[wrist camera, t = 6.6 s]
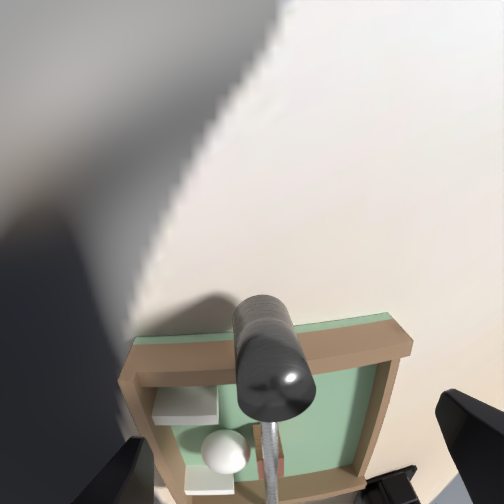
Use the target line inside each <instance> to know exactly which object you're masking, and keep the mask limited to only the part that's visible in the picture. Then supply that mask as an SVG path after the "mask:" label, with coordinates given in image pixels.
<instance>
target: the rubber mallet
mask: <svg viewBox="0 0 504 504" xmlns="http://www.w3.org/2000/svg"><path fill="white" fill-rule="evenodd" d="M233 337H234V354H235V371H236V387H237V402H238V405H239V408H240V409H241V411H242V412H243V413H244V414H245V415H247V416H248V417H250V418H252V419H254V420H257V421H260V424H256V425H253V434H254V444H255V453H256V461H257V469H258V478H259V480H262V479H264V482H265V496H266V504H278V478H279V477H284V454H283V449H282V444H281V439H280V434H279V429H278V422H282V421H286V420H289V419H292V418H294V417H296V416H298V415H300V414H301V413H303V412H304V411H305V410H306V409H308V407H309V406H310V405H311V404H312V402H313V401H314V399H315V396H316V385H315V382H314V379H313V376H312V374H311V371H310V369H309V366H308V363H307V361H306V358H305V355H304V353H303V350H302V347H301V345H300V342H299V339H298V337H297V334H296V332H295V329H294V326H293V324H292V321H291V318H290V316H289V313H288V311H287V308H286V307H285V305H284V304H283V303H282V302H281V301H280V300H279V299H277V298H275V297H272V296H269V295H256V296H252V297H250V298H247V299H246V300H244V301H243V302H241V303H240V304H239V306H238V307H237V308H236V310H235V312H234V315H233Z"/></svg>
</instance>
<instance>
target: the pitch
mask: <svg viewBox="0 0 504 504" xmlns="http://www.w3.org/2000/svg"><path fill="white" fill-rule="evenodd" d="M294 329H295V332H296V334H297V337H298V339H299V342H300V345H301V347H302V350H303V353H304V355H305V358H306V361H307V363H308V366H309V369H310V371H311V374H312V376H313V379H314V382H315V385H316V396H315V399H314V401H313V402H312V404H311V405H310V406H309V407H308V409H306V410H305V411H304V412H303V413H301V414H300V415H298V416H296V417H294V418H292V419H289V420H286V421H282V422H278V429H279V434H280V439H281V444H282V449H283V454H284V477H279V478H278V504H296V503H302V502H308V501H314V500H319V499H324V498H329V497H333V496H338V495H342V494H346V493H350V492H354V491H358V490H361V489H365V487H366V485H367V482H366V479H365V477H364V474H365V472H366V469H367V467H368V464H369V461H370V459H371V456H372V453H373V451H374V448H375V445H376V442H377V439H378V436H379V433H380V430H381V427H382V424H383V421H384V418H385V414H386V411H387V408H388V404H389V401H390V397H391V394H392V390H393V386H394V383H395V379H396V375H397V371H398V367H399V362H400V358H402V357H406V356H410V354H411V350H412V345H413V341H414V340H413V339H412V338H411V337H410V336H409V335H408V334H407V333H406V332H405V331H404V329H403V328H402V327H401V326H400V325H399V324H398V323H397V322H396V321H395V320H394V319H393V317H392V316H391V315H390V314H389V313H388V312H387V313H381V314H375V315H369V316H363V317H357V318H350V319H343V320H336V321H329V322H321V323H314V324H306V325H297V326H294ZM118 383H119V386H120V389H121V391H122V394H123V396H124V399H125V401H126V404H127V406H128V408H129V411H130V413H131V415H132V418H133V420H134V422H135V425H136V427H137V429H138V431H139V433H140V436H141V437H145V438H146V439H147V441H148V443H149V445H150V447H151V449H152V452H153V454H154V464H155V466H156V468H157V470H158V472H159V474H160V476H161V477H162V479H163V481H164V483H165V485H166V486H167V488H168V490H169V492H170V494H171V495H172V497H173V499H174V500H175V502H176V504H266V496H265V482H264V479H262V480H259V478H258V469H257V461H256V453H255V444H254V434H253V425H256V424H260V421H257V420H254V419H252V418H250V417H248V416H247V415H245V414H244V413H243V412H242V411H241V409H240V408H239V405H238V402H237V387H236V371H235V354H234V337H233V332H226V333H212V334H196V335H178V336H154V337H135V340H134V342H133V344H132V347H131V349H130V351H129V354H128V356H127V359H126V361H125V363H124V366H123V368H122V371H121V373H120V376H119V378H118ZM222 429H227V430H233V431H236V432H238V433H240V434H241V435H242V436H243V437H244V438H245V439H246V440H247V441H248V443H249V446H250V450H251V454H250V459H249V461H248V463H247V465H246V466H245V467H244V468H243V469H242V470H240V471H238V472H236V473H233V474H220V473H217V472H214V471H213V470H211V469H210V468H209V467H207V465H206V464H205V463H204V461H203V459H202V456H201V446H202V443H203V441H204V440H205V438H206V437H207V436H208V435H209V434H211V433H213V432H215V431H217V430H222Z"/></svg>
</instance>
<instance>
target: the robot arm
mask: <svg viewBox="0 0 504 504" xmlns="http://www.w3.org/2000/svg"><path fill="white" fill-rule="evenodd" d="M435 415H436V418H437V421H438V423H439V426H440V428H441V431H442V434H443V437H444V439H445V442H446V445H447V448H448V450H449V452H450V455H451V457H452V459H453V461H454V463H455V465H456V467H457V469H458V471H459V474H460V476H461V478H462V480H463V482H464V484H465V486H466V488H467V491H468V493H469V495H470V498H471V500H472V502H473V504H504V412H503V411H501V410H498V409H496V408H494V407H492V406H490V405H488V404H486V403H483V402H481V401H479V400H477V399H475V398H473V397H471V396H469V395H467V394H464V393H462V392H460V391H458V390H456V389H449V390H447V391H444V392H443V393H442V394H441V396H440V399H439V401H438V404H437V406H436V409H435ZM416 470H417V467H416V465H415V466H412V467H409V468H406V469H403V470H400V471H397V472H394V473H391V474H388V475H385V476H382V477H379V478H376V479H372V480H369V481H366V482H367V485H366V487H365V489H361V490H359V493H358V495H357V497H356V499H355V502H354V504H421V503H420V501H419V499H418V497H417V495H416V493H415V491H414V489H413V487H412V485H411V483H410V480H411V479H412V477H413V476H414V474H415V472H416ZM153 502H154V454H153V452H152V449H151V447H150V445H149V443H148V441H147V439H146V438H145V437H140V436H132V437H130V438H129V439H128V440H127V442H126V443H125V444H124V445H123V446H122V447H121V448H120V450H119V451H118V452H117V453H116V454H115V455H114V456H113V457H112V459H111V460H110V461H109V462H108V463H107V464H106V466H105V467H104V468H103V469H102V470H101V471H100V472H99V473H98V474H97V475H96V477H95V478H94V479H93V480H92V481H91V482H90V483H89V484H88V485H87V486H86V488H85V489H84V490H83V491H82V492H81V493H80V494H79V495H78V496H77V497H76V498H75V500H74V501H73V502H72V503H71V504H153Z"/></svg>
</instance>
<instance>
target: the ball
mask: <svg viewBox="0 0 504 504" xmlns="http://www.w3.org/2000/svg"><path fill="white" fill-rule="evenodd" d="M250 454H251V450H250V446H249V443H248V441H247V440H246V439H245V438H244V437H243V436H242V435H241V434H240V433H238V432H236V431H233V430H227V429H222V430H217V431H215V432H213V433H211V434H209V435H208V436H207V437H206V438H205V440H204V441H203V443H202V446H201V456H202V459H203V461H204V463H205V464H206V465H207V467H209V468H210V469H211V470H213V471H214V472H217V473H220V474H233V473H236V472H238V471H240V470H242V469H243V468H244V467H245V466H246V465H247V463H248V461H249V459H250Z"/></svg>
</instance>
